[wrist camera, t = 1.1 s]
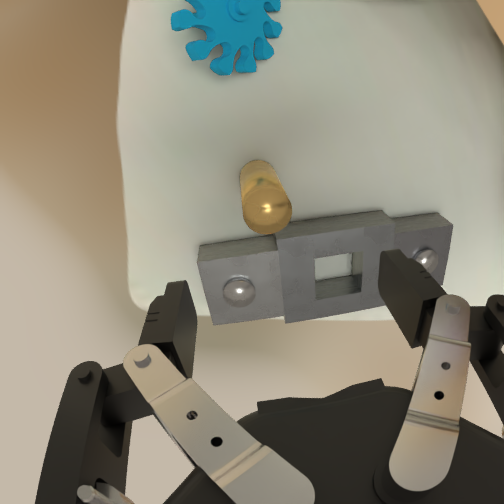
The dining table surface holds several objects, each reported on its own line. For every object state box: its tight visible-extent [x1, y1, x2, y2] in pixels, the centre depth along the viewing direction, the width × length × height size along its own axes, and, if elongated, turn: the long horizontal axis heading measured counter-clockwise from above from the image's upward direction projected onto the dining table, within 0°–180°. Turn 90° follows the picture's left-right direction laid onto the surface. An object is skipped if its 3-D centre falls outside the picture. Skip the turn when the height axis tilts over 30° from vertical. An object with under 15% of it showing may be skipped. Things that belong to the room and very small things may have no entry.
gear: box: [171, 0, 282, 76], centre depth 18 cm, size 11×6×10 cm
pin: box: [240, 160, 292, 234], centre depth 23 cm, size 3×3×8 cm
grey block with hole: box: [197, 210, 453, 325], centre depth 29 cm, size 24×9×4 cm, turn 98°
